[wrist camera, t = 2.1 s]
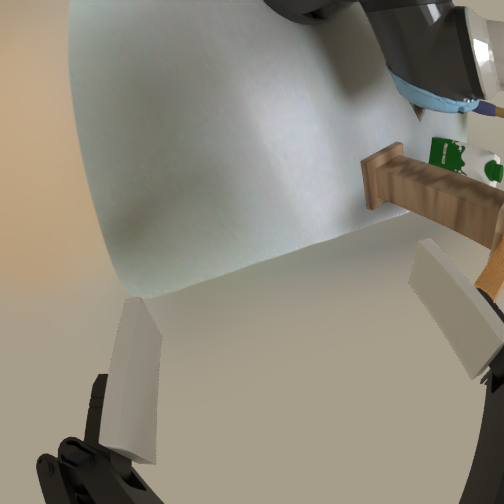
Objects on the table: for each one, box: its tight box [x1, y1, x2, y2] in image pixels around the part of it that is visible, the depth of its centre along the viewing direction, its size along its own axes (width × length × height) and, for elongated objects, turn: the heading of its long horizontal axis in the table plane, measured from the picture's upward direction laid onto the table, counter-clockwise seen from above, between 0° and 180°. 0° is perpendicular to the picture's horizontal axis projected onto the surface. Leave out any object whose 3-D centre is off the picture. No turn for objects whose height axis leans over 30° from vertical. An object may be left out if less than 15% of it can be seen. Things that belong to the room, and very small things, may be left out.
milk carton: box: [429, 138, 503, 188], centre depth 48 cm, size 9×9×20 cm
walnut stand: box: [361, 142, 504, 262], centre depth 38 cm, size 12×10×28 cm
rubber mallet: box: [472, 100, 504, 118], centre depth 40 cm, size 12×8×30 cm, turn 176°
